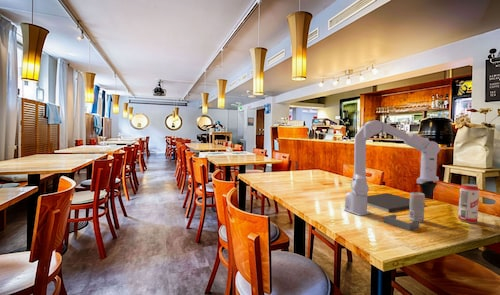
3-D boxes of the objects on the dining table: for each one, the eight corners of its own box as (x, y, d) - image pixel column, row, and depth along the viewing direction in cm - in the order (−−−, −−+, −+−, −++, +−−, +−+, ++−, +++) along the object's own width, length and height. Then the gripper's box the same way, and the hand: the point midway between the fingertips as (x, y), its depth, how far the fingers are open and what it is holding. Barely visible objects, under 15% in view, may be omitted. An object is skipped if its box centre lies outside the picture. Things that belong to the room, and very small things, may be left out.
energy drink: (420, 219, 108) (422, 192, 108) (425, 223, 103) (427, 195, 103) (407, 217, 110) (408, 191, 109) (411, 222, 105) (412, 194, 104)
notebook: (388, 213, 117) (424, 206, 129) (388, 208, 117) (425, 202, 129) (352, 201, 137) (387, 196, 149) (353, 197, 137) (387, 192, 148)
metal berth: (384, 222, 104) (384, 216, 104) (393, 219, 107) (393, 214, 107) (409, 231, 95) (410, 224, 95) (419, 227, 98) (419, 221, 98)
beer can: (454, 219, 108) (456, 183, 107) (463, 218, 110) (465, 182, 109) (471, 224, 102) (474, 186, 101) (480, 222, 104) (483, 185, 103)
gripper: (429, 170, 102) (428, 202, 103) (446, 168, 109) (445, 198, 110) (412, 168, 108) (410, 198, 109) (429, 166, 115) (427, 194, 116)
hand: (426, 198), depth 110 cm, fingers closed
